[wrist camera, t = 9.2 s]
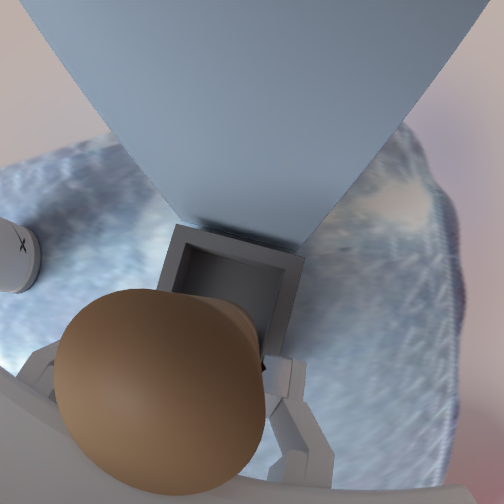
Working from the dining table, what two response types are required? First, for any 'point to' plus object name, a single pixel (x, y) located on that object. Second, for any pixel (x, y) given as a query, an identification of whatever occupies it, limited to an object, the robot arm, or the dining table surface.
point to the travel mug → (17, 257)
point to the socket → (235, 278)
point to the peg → (162, 389)
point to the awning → (253, 94)
